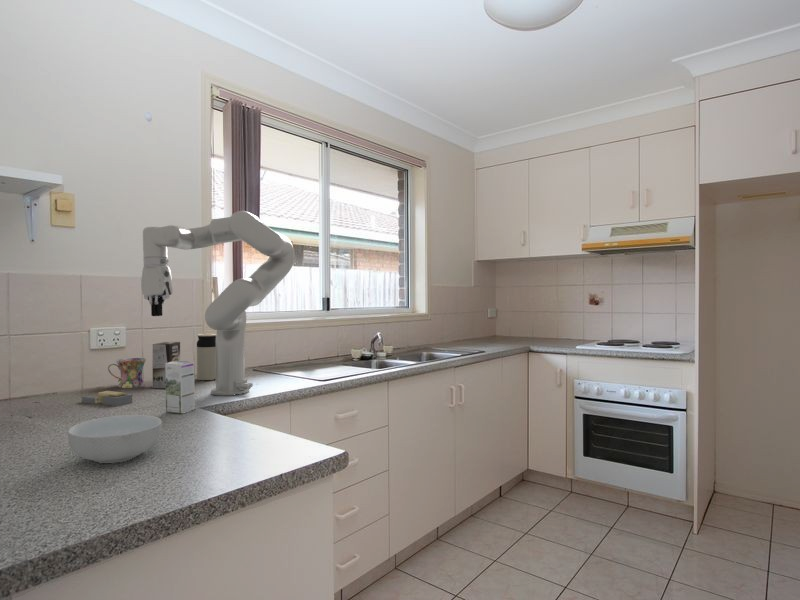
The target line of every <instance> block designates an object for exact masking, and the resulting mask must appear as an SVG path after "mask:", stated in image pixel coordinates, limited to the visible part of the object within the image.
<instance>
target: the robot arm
mask: <svg viewBox="0 0 800 600" xmlns="http://www.w3.org/2000/svg"><path fill="white" fill-rule="evenodd" d="M241 241H243V242H244V243H246V244H247V245H249V246H251V248H253V249H254V250H257V252H259V253H260V254H263V255H264V256H266V257H268V259H267V260H266V261H264V262H263V263H262V264H261V265H260V266H259V267H258V268H257V269H256V270H255V271H254V272H253V273H252V274H251V275H249V277H245V278H244V277H243V278H238V279H235V280H234V281H232V282H231V283H230V284H228V285H227V287H226V288H224V290H222V291H221V292H220V293H219V295H218V296H217V297H216V298H215V299H214V300H213V301H212V302H210V304H209V305H208V306H207V308H206V310H205V312H204V321H205V324H206V325H207V327H208V328H210V329H212V330H215V331H216V333H215V334H216V379H215V387H214V388H211V390H210V394H211V395H213V396H214V395H215V396H219V397H220V396H222V397H223V396H224V395H228V396H235V395H234V394H239V395H243V394H242V393H244V394H247V393H248V391H249V392H250V389H251V388H252V387H253V386H254V385H253V383H252V382H248V378H245V377H246V376H245V366H246V365H245V363H246V362H245V354H246V353H245V347H246V346H245V342H246V341H245V339H246V338H245V337H246V336H245V335H246V328H247V327H246V325H247V312H246V310H248V308H250V307H255V306H259V305H260V304H261V303H262V302H263V301H264V299H265V298H266V297H267V296H268V295H269V294H270V293H271V292H272V291H273V290H274V289H275V288H276V287H277V286H278V284H279V283H281V282H282V280H284V279H285V277H286V276H287V275H288V274H289V272H290V271H291V269H292V268H293V267H294V262H295V255H296V254H295V249H294V245H293V244H292V242H291V240H290V239H289V238H288V237H287V236H286V235H284V234H282V233H280V232H277V231H275V230H273V228H271V227H269V226H268V225H266V224H264V223H263V222H262V221H261V220H260V218H259V216H257V215H255V214H253V213H251V212H249V211H246V210H239V211H236V212H234V213H233V214H231V215H230V216H228V217H221V218H220V217H219V218H214V219H212V220H210V222H209V224H207V225H205V226H200V227H199V226H198V227H193V228H185V227H181V226H178V225H172V224H170V225H166V226H161V227H160V226H147V227H144V228H143V229H142V254H143V256H142V257H143V258H142V259H143V267H142V271H141V282H140V283H141V286H140V287H141V294H142V295H143V299H144V300H148V302H149V305H150V308H151V309H150V311H151V314H150V315H151V316H152V317H162V316H163V305H164V302H165V300H168V299H170V296H171V295H173V292H174V291H173V279H172V271H171V268H170V267H169V266H168V263H169V260H168V248H171V249H172V248H173V249H179V250H185V251H186V250H187V251H188V250H195V249H202V248H208V247H213V246H216V245H220V244H221V245H222V244H227V243H232V242H233V243H234V242H241ZM246 392H247V393H246Z"/></svg>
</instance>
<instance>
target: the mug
mask: <svg viewBox="0 0 800 600" xmlns="http://www.w3.org/2000/svg"><path fill="white" fill-rule="evenodd" d="M146 360H147V359H146V358H145V357H127V358H120V359H117V360H116V363H112V364H109V365H108V367H107V371H108V372H109V374H110V375H111V376H113V378H115V379H117V380H118V381H117V382H118V388H122V389H127V388H128V389H129V388H139V389H143V388H144V387H145V386H146V384H145V383H144V380H143V379H144V378H143V369H144V365H145V363H146ZM111 366H115V367H117V368H118V370H119V371H120V377H119V376H116V375H115V374H114V373H112V371H111V369H110V367H111Z"/></svg>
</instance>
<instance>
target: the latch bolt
mask: <svg viewBox="0 0 800 600" xmlns="http://www.w3.org/2000/svg"><path fill="white" fill-rule="evenodd" d="M126 394H127V393H126V392H121V391H120V392H119V391H111V390H105V391H104V390H103V391H99V392H97V398H98V399H97V402H98V403H99V404H100V403H101V404H103V396H111V397H121V396H126Z"/></svg>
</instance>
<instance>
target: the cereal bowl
mask: <svg viewBox="0 0 800 600" xmlns="http://www.w3.org/2000/svg"><path fill="white" fill-rule="evenodd" d="M162 422H163V421H162V419H160V417H157V416H154V415H147V414H119V415H112V416H105V417H98V418H93V419H89V420H86V421H81V422H80V423H78V424H75V425H73V426H71V427H70V428H69V429H68V431H67V438H68V440H67V441H68V445H69V447H70V449H71V452H73V453H74V455H76V456H78V457H80V458H81V459H85V460H89V461H94V462H95V463H97V462H99V463H98V464H102V463H112V464H114V463H113V462H120V463H122V462H121V461H124V462H126V461H125V460H128V461H130V460H129V459H131V460H133V459H135V458H137V457H138V456H139V455H141V454H143V453H145V452H147V451H149V450H151V448H153V447H154V446H155V445H156V444H157V443H158V441H159V439H160V436H161V434H162V427H163V425H162V424H163V423H162ZM137 455H138V456H137ZM136 456H137V457H136ZM134 457H135V458H134ZM132 458H133V459H132Z"/></svg>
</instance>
